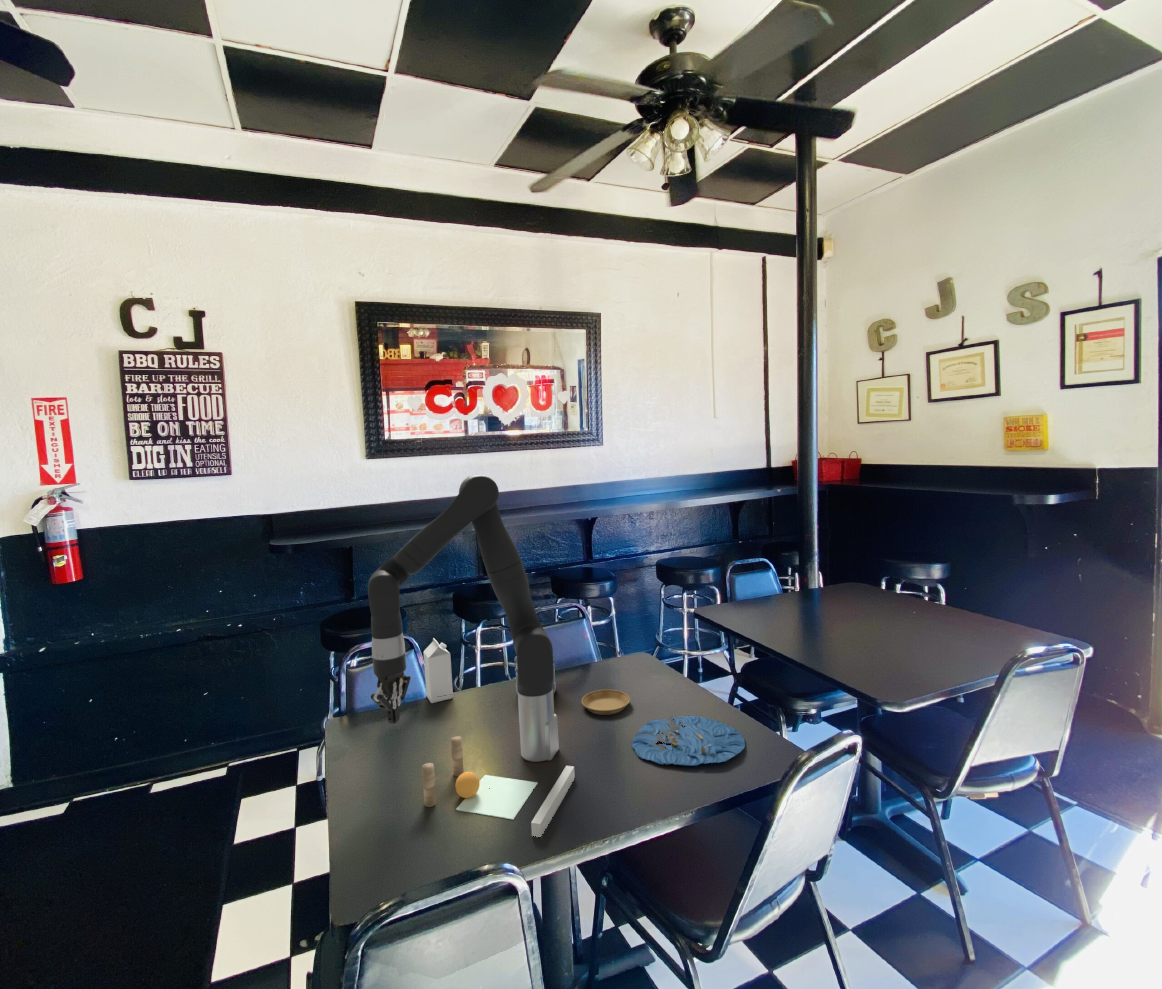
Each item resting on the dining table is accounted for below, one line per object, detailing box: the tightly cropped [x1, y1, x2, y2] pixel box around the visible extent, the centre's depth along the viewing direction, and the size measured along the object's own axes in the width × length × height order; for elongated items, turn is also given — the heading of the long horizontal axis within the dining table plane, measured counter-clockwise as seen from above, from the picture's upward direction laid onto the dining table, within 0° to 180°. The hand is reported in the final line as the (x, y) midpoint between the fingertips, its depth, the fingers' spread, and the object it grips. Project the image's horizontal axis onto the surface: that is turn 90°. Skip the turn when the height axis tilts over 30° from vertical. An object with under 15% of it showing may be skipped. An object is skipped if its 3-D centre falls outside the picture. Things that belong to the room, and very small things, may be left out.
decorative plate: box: [631, 715, 746, 767], centre depth 155 cm, size 30×30×5 cm
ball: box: [454, 771, 480, 799], centre depth 135 cm, size 6×6×6 cm
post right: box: [450, 735, 465, 777], centre depth 145 cm, size 3×3×9 cm
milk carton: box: [423, 637, 454, 704], centre depth 190 cm, size 7×7×19 cm
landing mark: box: [455, 774, 539, 821], centre depth 135 cm, size 14×14×1 cm
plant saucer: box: [581, 689, 631, 716], centre depth 179 cm, size 15×15×3 cm
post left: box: [421, 762, 437, 808], centre depth 133 cm, size 3×3×9 cm
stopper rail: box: [530, 765, 576, 838], centre depth 131 cm, size 2×22×3 cm, turn 162°
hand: (394, 722), depth 142 cm, fingers closed
